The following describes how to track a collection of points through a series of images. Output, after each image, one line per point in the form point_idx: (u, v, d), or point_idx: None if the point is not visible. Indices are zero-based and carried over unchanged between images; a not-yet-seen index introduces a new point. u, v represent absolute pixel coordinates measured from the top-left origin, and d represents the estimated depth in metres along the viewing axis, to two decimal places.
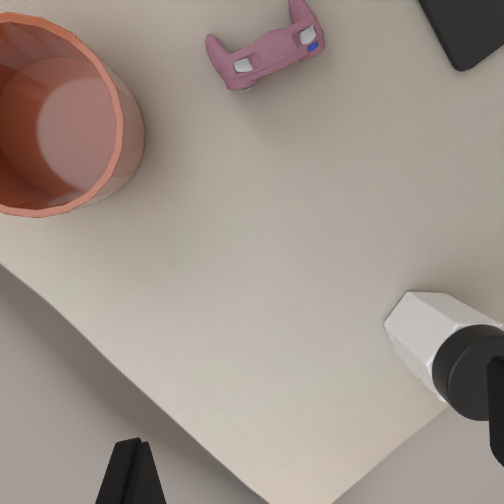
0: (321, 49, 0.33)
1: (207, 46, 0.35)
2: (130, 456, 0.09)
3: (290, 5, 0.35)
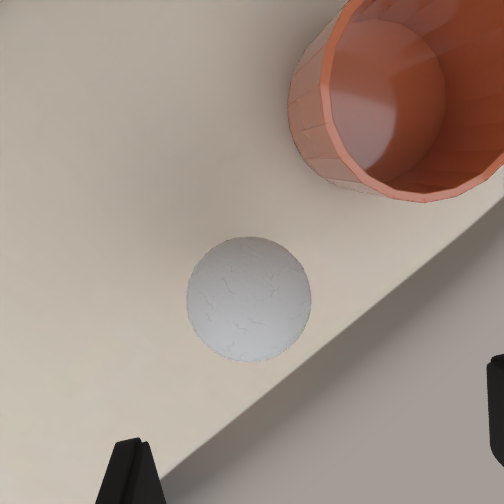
0: None
1: None
2: (130, 456, 0.09)
3: None
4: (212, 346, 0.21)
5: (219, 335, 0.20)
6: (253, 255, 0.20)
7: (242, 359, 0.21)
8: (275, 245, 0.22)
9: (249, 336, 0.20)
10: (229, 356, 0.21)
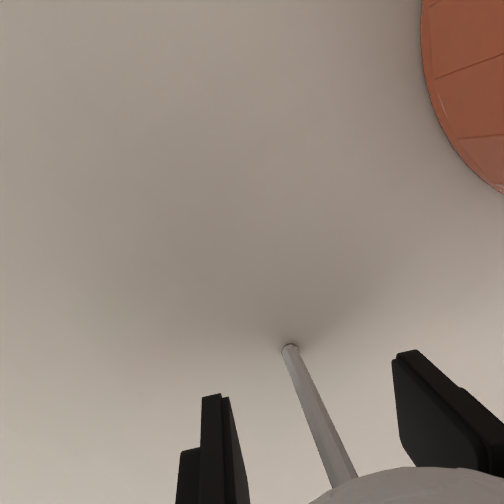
0: None
1: None
2: (219, 407, 0.10)
3: None
4: None
5: None
6: None
7: None
8: None
9: None
10: None
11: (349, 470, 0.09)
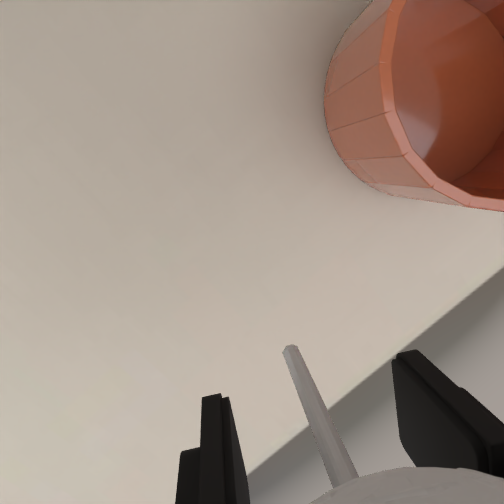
0: None
1: None
2: (219, 407, 0.10)
3: None
4: None
5: None
6: None
7: None
8: None
9: None
10: None
11: (350, 470, 0.09)
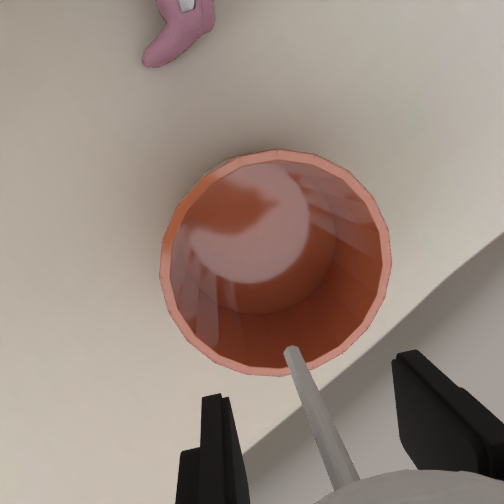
0: None
1: (158, 61, 0.27)
2: (219, 407, 0.10)
3: None
4: None
5: None
6: None
7: None
8: None
9: None
10: None
11: (351, 472, 0.09)
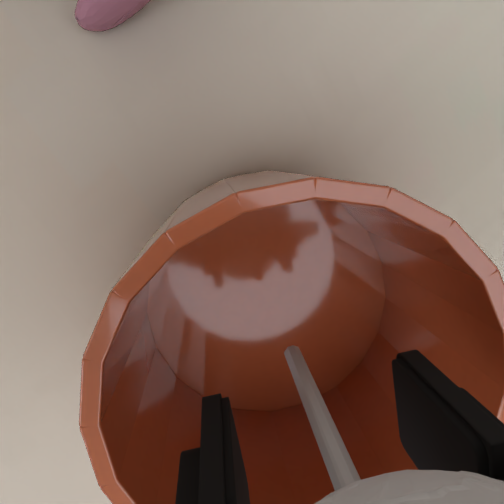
0: None
1: (100, 17, 0.16)
2: (219, 407, 0.10)
3: None
4: None
5: None
6: None
7: None
8: None
9: None
10: None
11: (351, 472, 0.09)
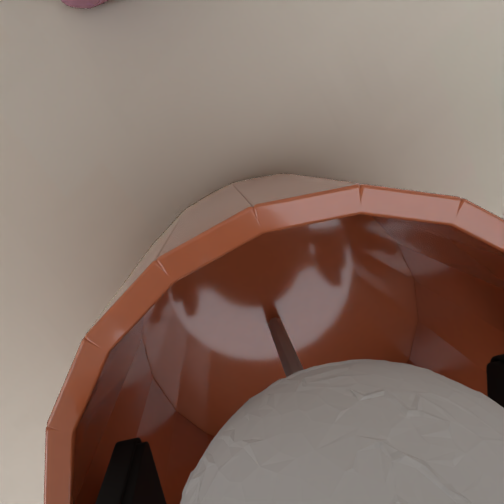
0: None
1: None
2: (130, 456, 0.09)
3: None
4: None
5: None
6: None
7: None
8: (503, 423, 0.06)
9: None
10: None
11: None
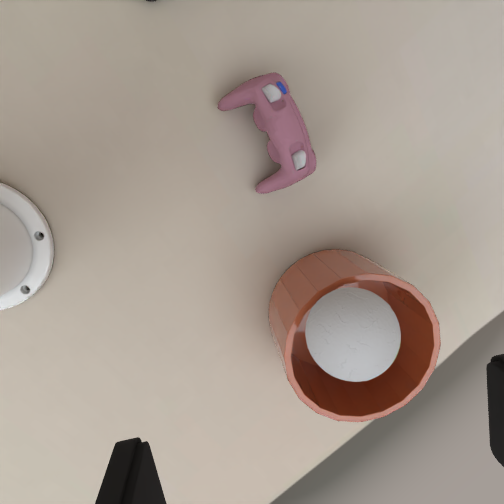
0: (281, 77, 0.33)
1: None
2: (130, 456, 0.09)
3: (229, 109, 0.36)
4: (328, 365, 0.28)
5: (335, 355, 0.28)
6: (356, 297, 0.29)
7: (351, 375, 0.28)
8: (370, 292, 0.30)
9: (358, 354, 0.27)
10: (341, 373, 0.28)
11: None
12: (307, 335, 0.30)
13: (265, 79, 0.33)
